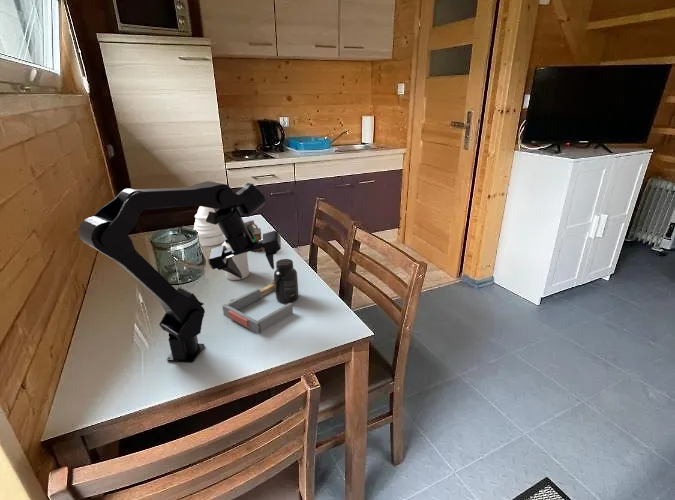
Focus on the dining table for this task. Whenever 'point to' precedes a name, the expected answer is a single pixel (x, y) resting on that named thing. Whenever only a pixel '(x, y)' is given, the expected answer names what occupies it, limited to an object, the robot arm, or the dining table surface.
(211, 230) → the honey pot
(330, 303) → the dining table surface
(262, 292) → the rail
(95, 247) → the robot arm
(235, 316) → the bay
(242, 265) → the pill bottle
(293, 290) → the supplement bottle
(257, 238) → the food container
